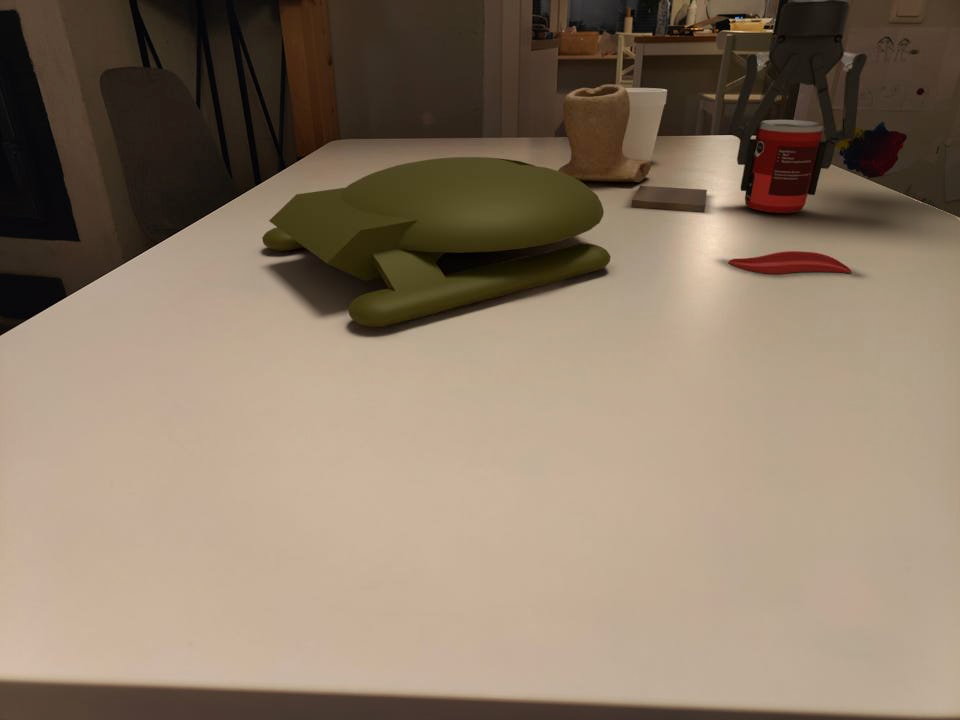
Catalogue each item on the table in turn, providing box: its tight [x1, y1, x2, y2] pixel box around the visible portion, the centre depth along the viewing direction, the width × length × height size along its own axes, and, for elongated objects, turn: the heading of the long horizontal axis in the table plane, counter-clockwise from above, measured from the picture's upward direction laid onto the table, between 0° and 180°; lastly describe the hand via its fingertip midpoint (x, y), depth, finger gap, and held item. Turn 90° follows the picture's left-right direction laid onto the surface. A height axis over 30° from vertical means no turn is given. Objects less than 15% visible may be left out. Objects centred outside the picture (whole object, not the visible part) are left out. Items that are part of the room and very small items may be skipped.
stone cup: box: [557, 84, 652, 183], centre depth 101 cm, size 15×12×15 cm
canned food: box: [744, 119, 824, 214], centre depth 84 cm, size 8×8×11 cm
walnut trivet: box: [631, 185, 708, 213], centre depth 91 cm, size 10×10×1 cm
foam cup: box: [622, 87, 668, 161], centre depth 116 cm, size 10×9×13 cm
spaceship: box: [261, 156, 611, 328], centre depth 68 cm, size 35×31×10 cm
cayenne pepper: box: [727, 250, 853, 275], centre depth 64 cm, size 12×5×2 cm, turn 67°
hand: (776, 190), depth 85 cm, fingers closed on canned food, 8 cm apart
